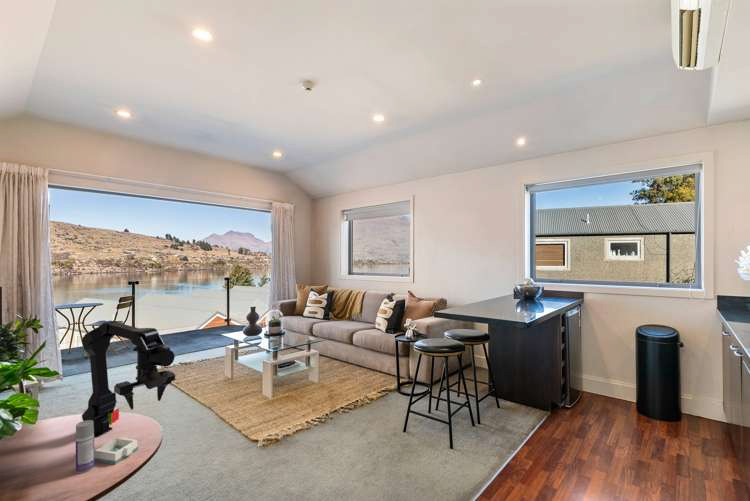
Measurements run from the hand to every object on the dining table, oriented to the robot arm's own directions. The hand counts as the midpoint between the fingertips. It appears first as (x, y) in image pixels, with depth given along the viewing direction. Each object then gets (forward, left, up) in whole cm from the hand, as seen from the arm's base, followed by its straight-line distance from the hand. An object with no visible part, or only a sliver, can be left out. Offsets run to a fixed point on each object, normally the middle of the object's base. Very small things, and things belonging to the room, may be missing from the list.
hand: (145, 404), depth 133 cm
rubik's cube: (-28, +10, -14) cm, 33 cm away
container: (-6, -18, -14) cm, 24 cm away
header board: (-3, -10, -14) cm, 17 cm away
